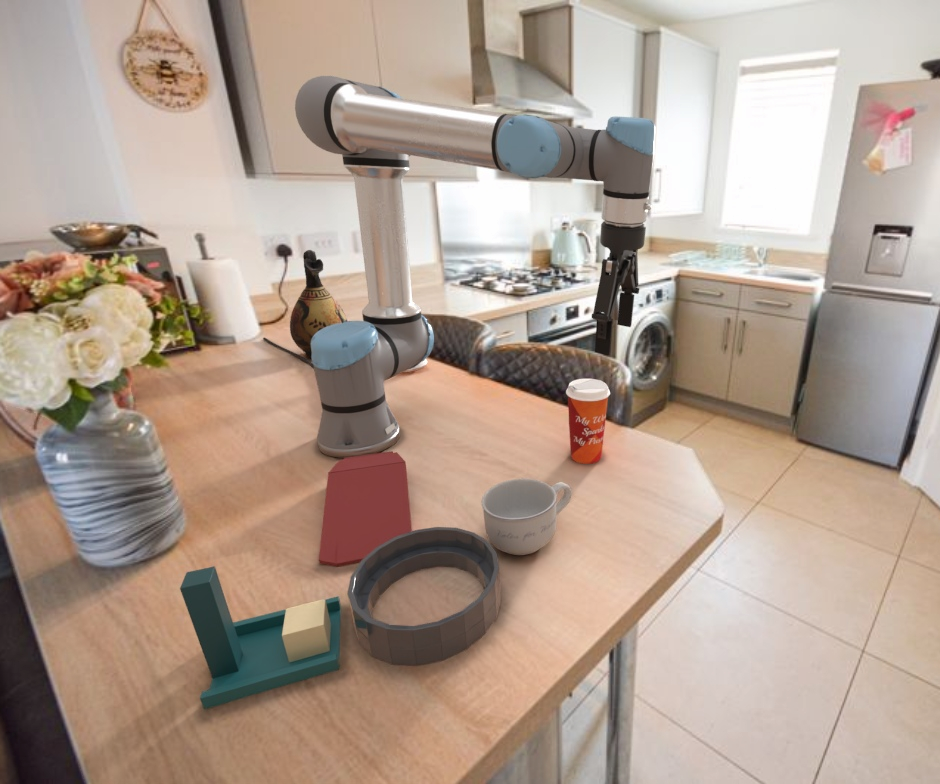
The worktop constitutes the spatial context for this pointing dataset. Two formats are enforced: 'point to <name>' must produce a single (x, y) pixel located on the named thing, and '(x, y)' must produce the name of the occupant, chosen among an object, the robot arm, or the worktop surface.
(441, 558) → the dark grey ring
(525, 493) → the teacup
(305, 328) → the ceramic jug
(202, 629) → the teal post tray
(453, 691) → the worktop surface
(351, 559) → the red flat panel
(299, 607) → the cream block
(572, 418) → the coffee cup
